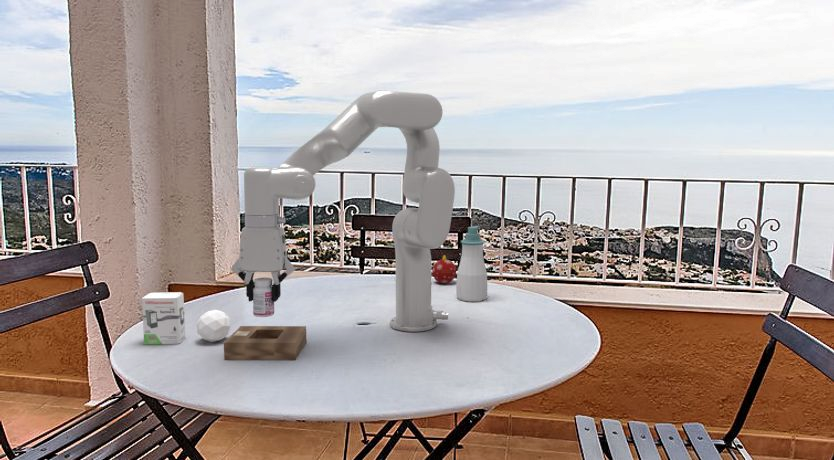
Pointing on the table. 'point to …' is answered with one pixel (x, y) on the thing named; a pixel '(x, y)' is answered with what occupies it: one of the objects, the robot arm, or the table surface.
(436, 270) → the christmas ornament
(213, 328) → the geometric ball
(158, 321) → the ink box
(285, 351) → the brown flat recessed slab
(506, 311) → the table surface
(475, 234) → the soap bottle
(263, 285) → the pill bottle
